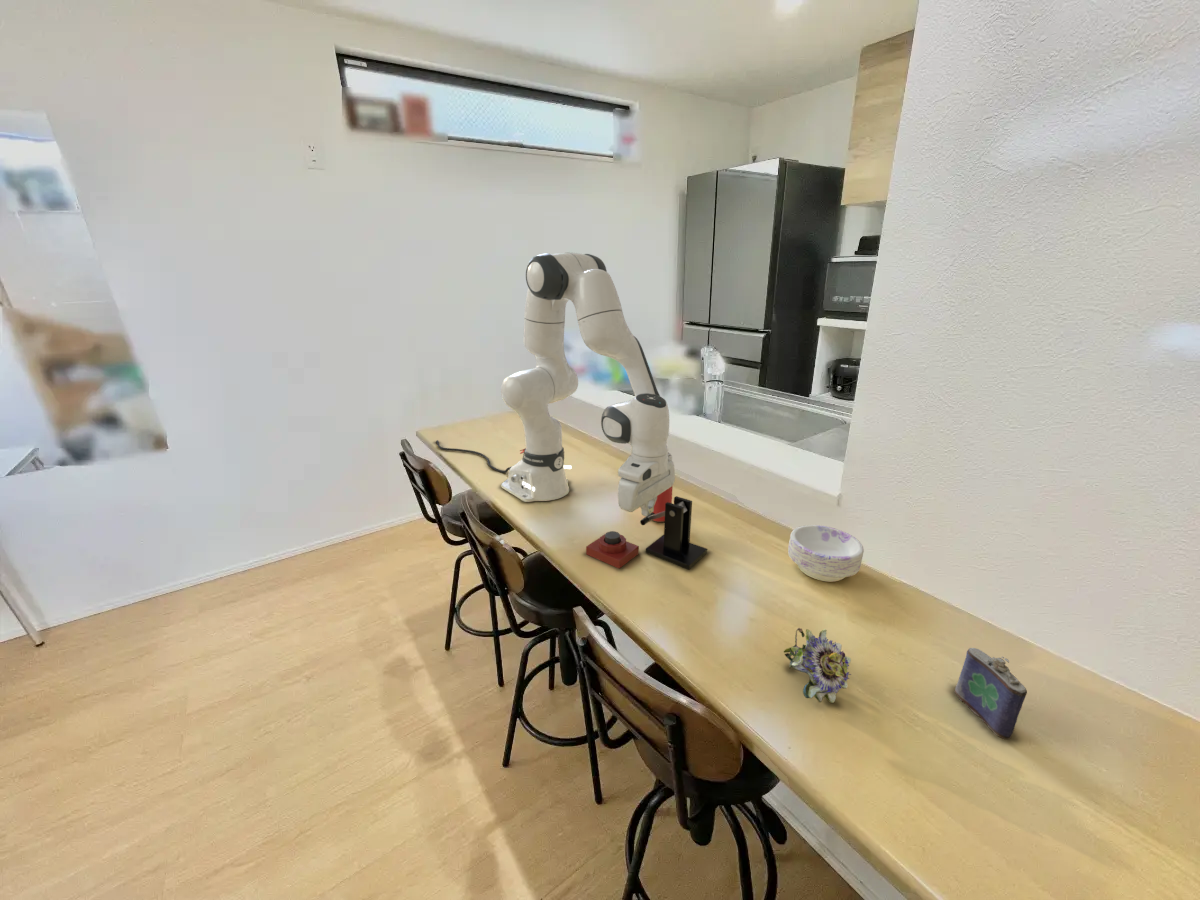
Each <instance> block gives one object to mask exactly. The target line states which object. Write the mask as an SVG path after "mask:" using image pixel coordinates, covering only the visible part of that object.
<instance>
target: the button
mask: <svg viewBox="0 0 1200 900" xmlns="http://www.w3.org/2000/svg"><path fill="white" fill-rule="evenodd" d="M604 534H605V542H606V543H607V544H612V545H614V544H618V543H619V542H620V535H621V534H620V533H619V532H618V531H614V530H610V531H607V532H606V533H604Z"/></svg>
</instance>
